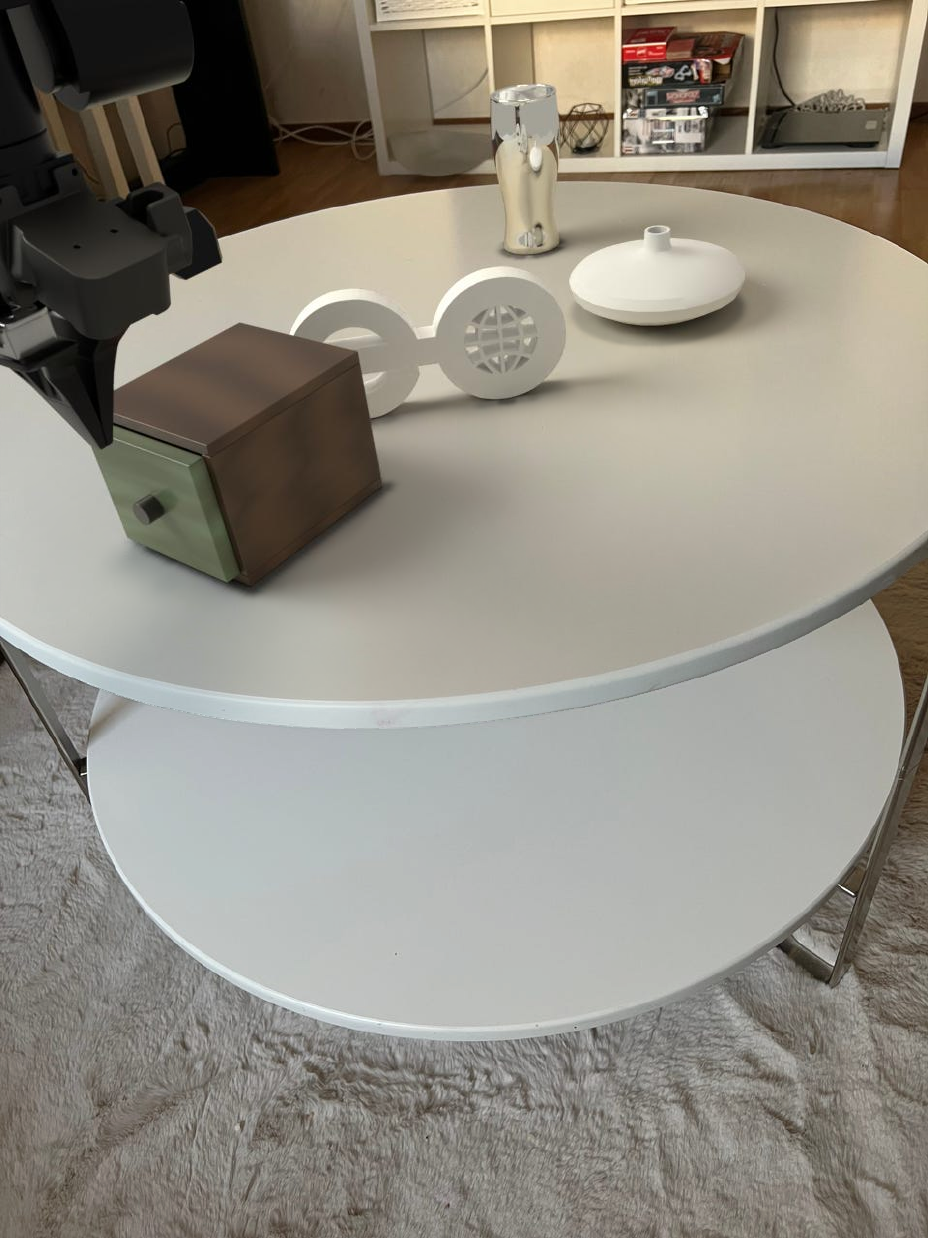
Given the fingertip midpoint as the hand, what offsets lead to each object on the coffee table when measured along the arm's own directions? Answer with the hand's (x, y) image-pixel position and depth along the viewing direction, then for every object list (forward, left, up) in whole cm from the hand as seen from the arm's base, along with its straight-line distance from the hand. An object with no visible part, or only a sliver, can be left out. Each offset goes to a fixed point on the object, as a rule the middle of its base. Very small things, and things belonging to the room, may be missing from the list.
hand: (102, 445), depth 54 cm
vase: (+53, +14, -13) cm, 56 cm away
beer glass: (+55, +36, -13) cm, 67 cm away
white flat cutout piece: (+28, +13, -13) cm, 34 cm away
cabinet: (+10, +8, -13) cm, 18 cm away
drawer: (+8, +7, -12) cm, 16 cm away
